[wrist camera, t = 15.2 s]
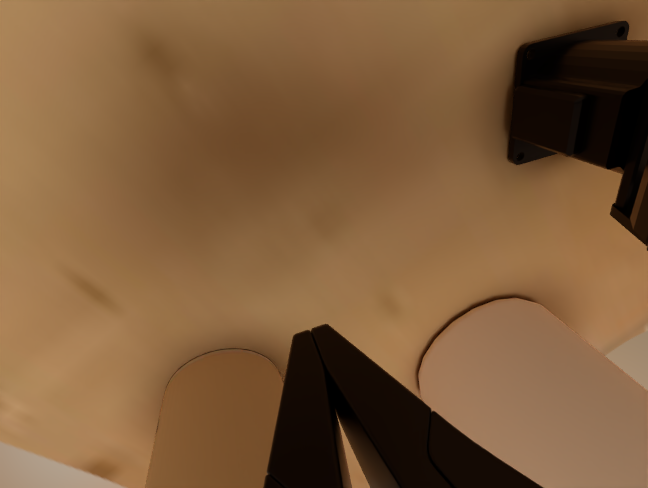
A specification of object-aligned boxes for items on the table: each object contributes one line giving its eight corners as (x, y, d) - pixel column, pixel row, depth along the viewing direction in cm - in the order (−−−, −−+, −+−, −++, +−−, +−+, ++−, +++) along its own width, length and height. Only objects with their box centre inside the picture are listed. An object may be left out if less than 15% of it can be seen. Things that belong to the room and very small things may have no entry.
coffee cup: (118, 383, 23) (49, 661, 13) (256, 314, 23) (296, 532, 13) (199, 453, 28) (197, 691, 18) (312, 396, 28) (371, 598, 18)
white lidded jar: (563, 341, 34) (913, 642, 17) (454, 423, 36) (676, 770, 19) (516, 264, 27) (1011, 630, 11) (385, 368, 29) (633, 828, 12)
